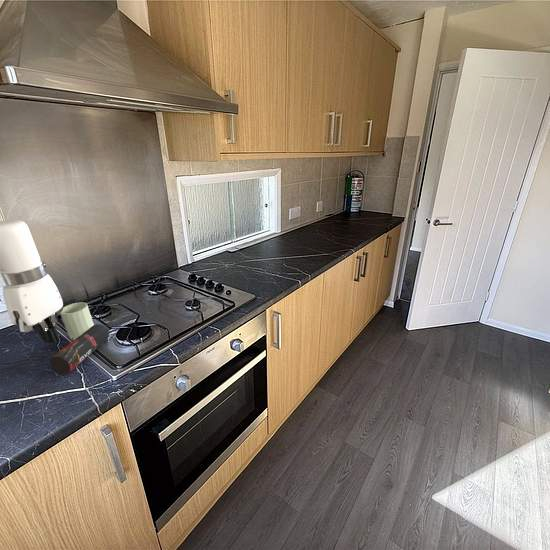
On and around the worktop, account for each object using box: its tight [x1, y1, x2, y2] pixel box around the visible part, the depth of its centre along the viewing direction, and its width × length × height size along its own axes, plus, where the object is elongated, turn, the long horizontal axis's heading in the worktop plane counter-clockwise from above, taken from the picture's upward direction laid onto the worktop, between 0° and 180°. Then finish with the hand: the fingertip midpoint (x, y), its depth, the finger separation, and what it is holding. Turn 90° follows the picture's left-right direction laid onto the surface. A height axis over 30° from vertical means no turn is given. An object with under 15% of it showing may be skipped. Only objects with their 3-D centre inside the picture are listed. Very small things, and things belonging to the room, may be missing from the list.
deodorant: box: [49, 324, 110, 375], centre depth 84 cm, size 6×6×15 cm
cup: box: [59, 301, 95, 341], centre depth 94 cm, size 7×7×10 cm
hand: (52, 340), depth 75 cm, fingers closed
